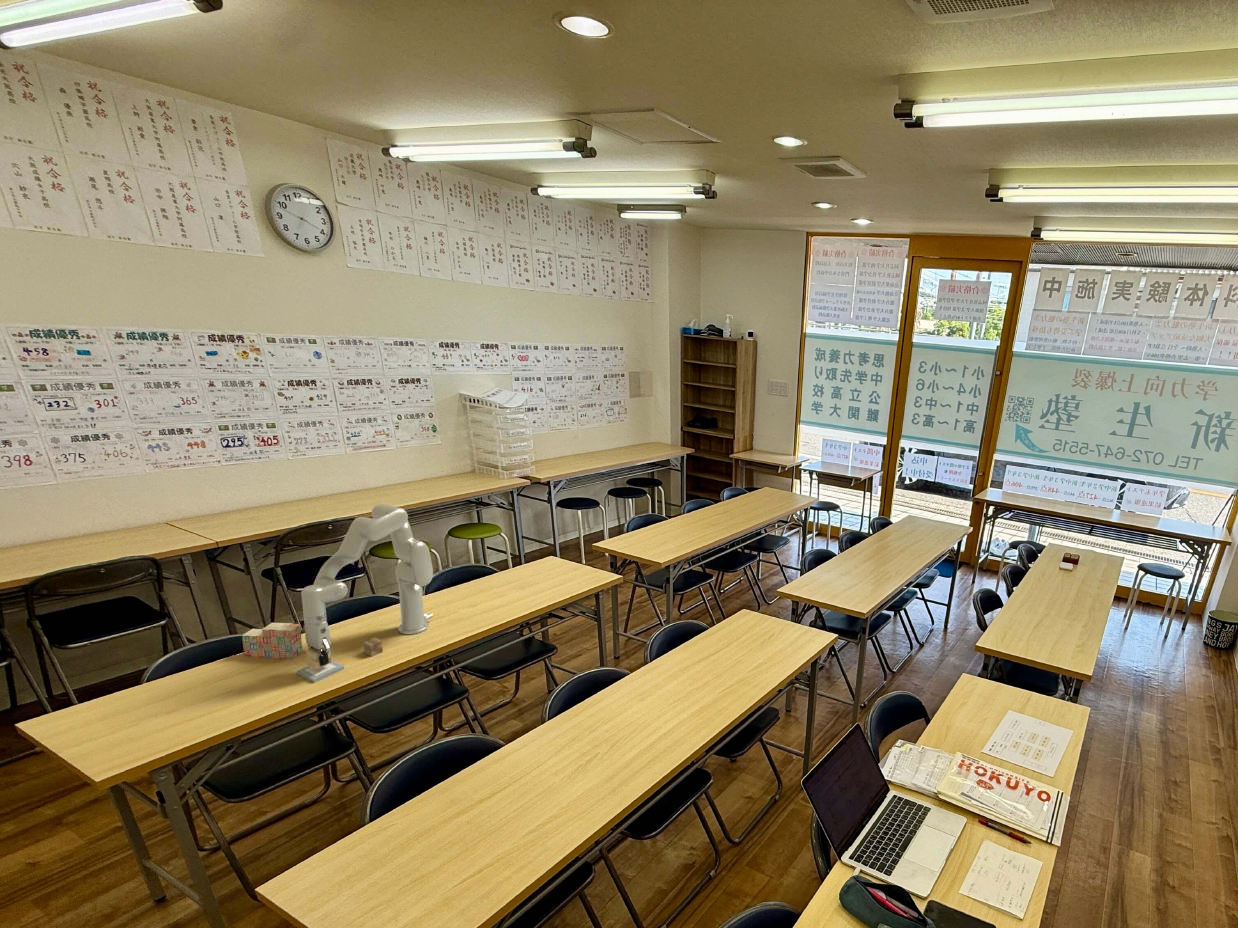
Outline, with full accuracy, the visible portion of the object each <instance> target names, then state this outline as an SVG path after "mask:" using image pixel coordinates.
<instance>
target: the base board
mask: <svg viewBox="0 0 1238 928" xmlns="http://www.w3.org/2000/svg"><path fill="white" fill-rule="evenodd" d="M331 662H332V663H330V664H327V665H325V666H323V667H321V668H318V669H315V668H313V667H311V666H309V665H306V666H304V667H302V668H300V669H298V670H296V674H297V675H298V676H301V677H302V678H303V679H304V678H305V679H306V680H308V681H310V682H311V683H313V684H314V683H315V684H316V682H317V683H318V682H319V681H320V680H324V679H326V678H327V677H330V676H333V675H335V674H336V673H339V672H341V671H342V670H345V666H344V665H343V664H341V663H339V662H338V661H335V660H333V659H331Z"/></svg>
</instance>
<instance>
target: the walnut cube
mask: <svg viewBox="0 0 1238 928" xmlns="http://www.w3.org/2000/svg"><path fill="white" fill-rule="evenodd" d="M383 648H384V647H383V640H382V639H379V638H378V637H372V638H370V639H368V640H366V641H364V642H363V649H364V650H363V651H364V655H366V656H369V657H375V656H377V655H378V654H381V653H383V652H384V649H383Z"/></svg>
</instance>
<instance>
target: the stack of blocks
mask: <svg viewBox="0 0 1238 928" xmlns="http://www.w3.org/2000/svg"><path fill="white" fill-rule="evenodd" d="M241 641H242V646H243V654H244V656H245V657H252V658H253V657H254V658H256V657H257V658H275V659H276V658H277V659H295V658H296V657H297V656H298V655H300V654H301V653H302V652H303V642H302V631H301V624H300V623H292V622H290V623H289V622H286V623H285V622H270V623H269V624H268V625H266V626H265V627H263V628H251V629H249V630H248V631H246V632H245V633H244V634H242V635H241Z"/></svg>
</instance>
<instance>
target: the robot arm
mask: <svg viewBox="0 0 1238 928" xmlns="http://www.w3.org/2000/svg"><path fill="white" fill-rule="evenodd" d="M371 517H372V518H371ZM371 517H366V516H365V517H364V516H360V517H355V519H354V520H353V521H352V523H351V524H350V526H349V528H348V530H347V532H346V535H345V536H344V538H343V540H342V542H341V544H340V547H339V549H338V550H337V552H335V553H334V554H333V555H332V556H330V557H329V558H328V559H327V560H326V561H325V562H324V563H323V565H322V566H321V567H320V569H319V572H318V573H317V575H316V577H315V580H314V582H313V584H312V585H308V586H305V587H304V588H302V590H301V603H302V611H303V613H302V614H303V623H304V636H305V642H306V644H307V647H308V649H311V648H313V647H314V648H316V649H318V650H319V654H320V656H319V661H320V666H323V665H325V664H328V663H329V659H328V654H329V650H330V651H331V647H330V646H332V640H331V634H330V627H329V624H328V621H327V610H326V604H327V603H331V602H332V603H333V602H337V601H340V600H342V599H344V598H345V597H346V596H347V594H348V592H349V591H348V590H349V589H348V586H347V585H346V583H345V582H343V581H340V580H337V579H335V578H336V576H337V575H338V573H339V571H340V570H342V569H343V567H345V566H348V565H349V564H351V563H354V562H356V561H358V560H360V559H361V557H362V554H363V552H364V550H365V547H366V546H367V544H368V542H369V541H372V542H374V541H380V540H382V539H383V538H385V537H388V536H390V538H391V542H392V547H393V553H394V555H395V557H397V558H398V559H400V560H401V561H400V562H398V563H397V565H396V567H395V578H396V581H397V585H398V593H399V603H400V604H399V607H400V608H399V609H400V621H401V624H400V625H399V626H398V628H397V629H398V632H399V633H400V634H403V635H414V634H415V635H416V634H419V633H422V632H424V631H426V630H427V629H428V627H429V622H427V621H428V620H430V619H432V618H433V617H434V615H433V613H429V614H427V613H425V612H424V599H423V587H424V586H427V585H429V584H430V583H431V581H432V580H433V576H434V569H433V563H432V557H431V554H430V548H429V547H428V545H427V543H426V542H424V541H421V540H419V539H416V538H415V537H414V535H413V531H412V528H411V525H410V522H409V520H408V519H409V515H408V513H407V511H406V510H405V509H404V508H402V507H398V506H393V505H389V504H385V503H382V504H381V503H380V504H377V505H375V506H373V508H372V510H371ZM323 645H324V647H321V646H323ZM321 649H325V650H324V651H323V652H322V650H321Z"/></svg>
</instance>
